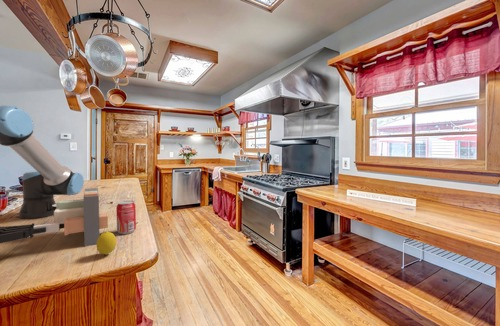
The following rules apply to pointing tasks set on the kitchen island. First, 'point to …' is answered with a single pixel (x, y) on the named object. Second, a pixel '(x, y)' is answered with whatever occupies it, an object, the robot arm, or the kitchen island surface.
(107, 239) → the lemon
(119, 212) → the soda can
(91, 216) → the key panel
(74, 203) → the sage key
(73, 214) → the ivory key
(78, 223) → the terracotta key
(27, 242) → the kitchen island surface
